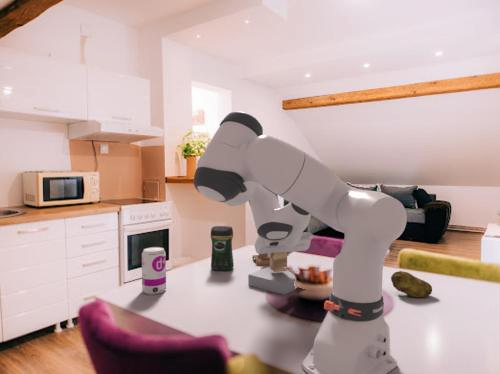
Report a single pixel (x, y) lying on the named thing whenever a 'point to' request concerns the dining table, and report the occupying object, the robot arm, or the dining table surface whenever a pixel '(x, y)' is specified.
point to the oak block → (278, 262)
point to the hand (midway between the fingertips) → (277, 255)
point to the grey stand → (273, 280)
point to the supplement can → (153, 270)
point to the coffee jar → (222, 248)
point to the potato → (410, 284)
